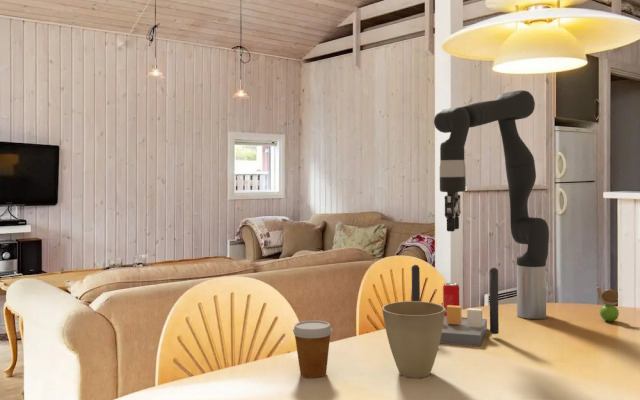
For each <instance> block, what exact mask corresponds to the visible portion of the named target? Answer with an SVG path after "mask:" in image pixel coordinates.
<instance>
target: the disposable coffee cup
mask: <svg viewBox="0 0 640 400" xmlns="http://www.w3.org/2000/svg"><path fill="white" fill-rule="evenodd" d="M332 331H333V328H332V327H331V324H330V323H329V322H328V321H324V320H303V321H299V322H296V323H295V324H294V328H293V329H292V333H293V335H294V339H295V345H296V346H295V347H296V351H297V352H296V353H297V359H298V367H299V373H300V374H301V375H300V376H301V377H304V378H308V379H316V378H323V377H324V376H326V375H327V368H328V360H329V359H328V358H329V351H330V350H329V349H330V340H331V339H330V338H331V335H332Z"/></svg>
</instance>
